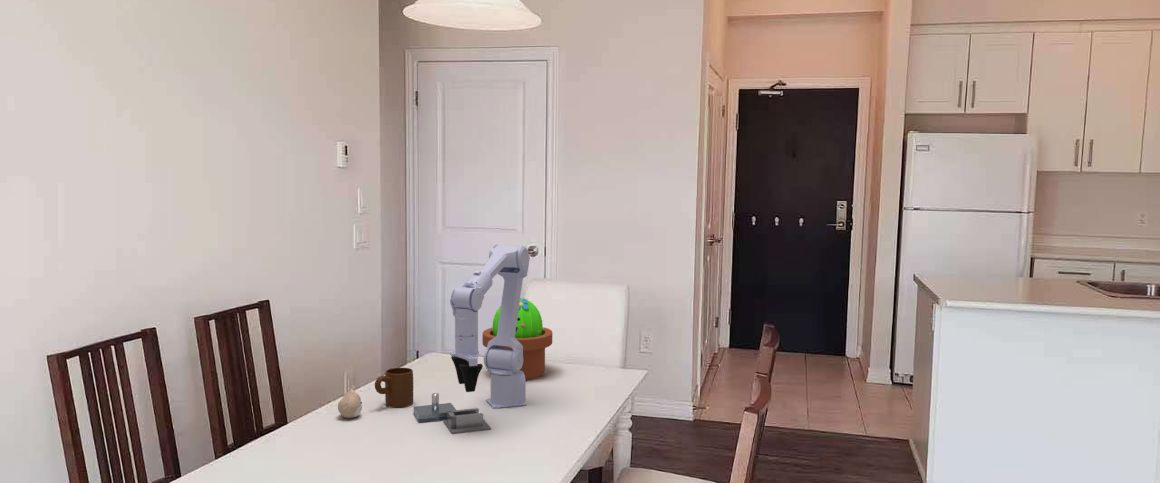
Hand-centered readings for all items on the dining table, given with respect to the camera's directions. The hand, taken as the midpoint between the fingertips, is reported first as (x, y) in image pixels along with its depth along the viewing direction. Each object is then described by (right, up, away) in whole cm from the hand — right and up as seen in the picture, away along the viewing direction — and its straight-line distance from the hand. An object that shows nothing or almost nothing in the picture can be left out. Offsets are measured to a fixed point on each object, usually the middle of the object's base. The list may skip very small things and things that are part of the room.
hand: (466, 387), depth 200 cm
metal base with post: (-9, -9, +8) cm, 15 cm away
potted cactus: (+9, -5, +52) cm, 53 cm away
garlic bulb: (-31, -9, +7) cm, 33 cm away
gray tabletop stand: (-1, -9, +1) cm, 10 cm away
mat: (0, -10, +1) cm, 10 cm away
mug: (-22, -8, +17) cm, 29 cm away
